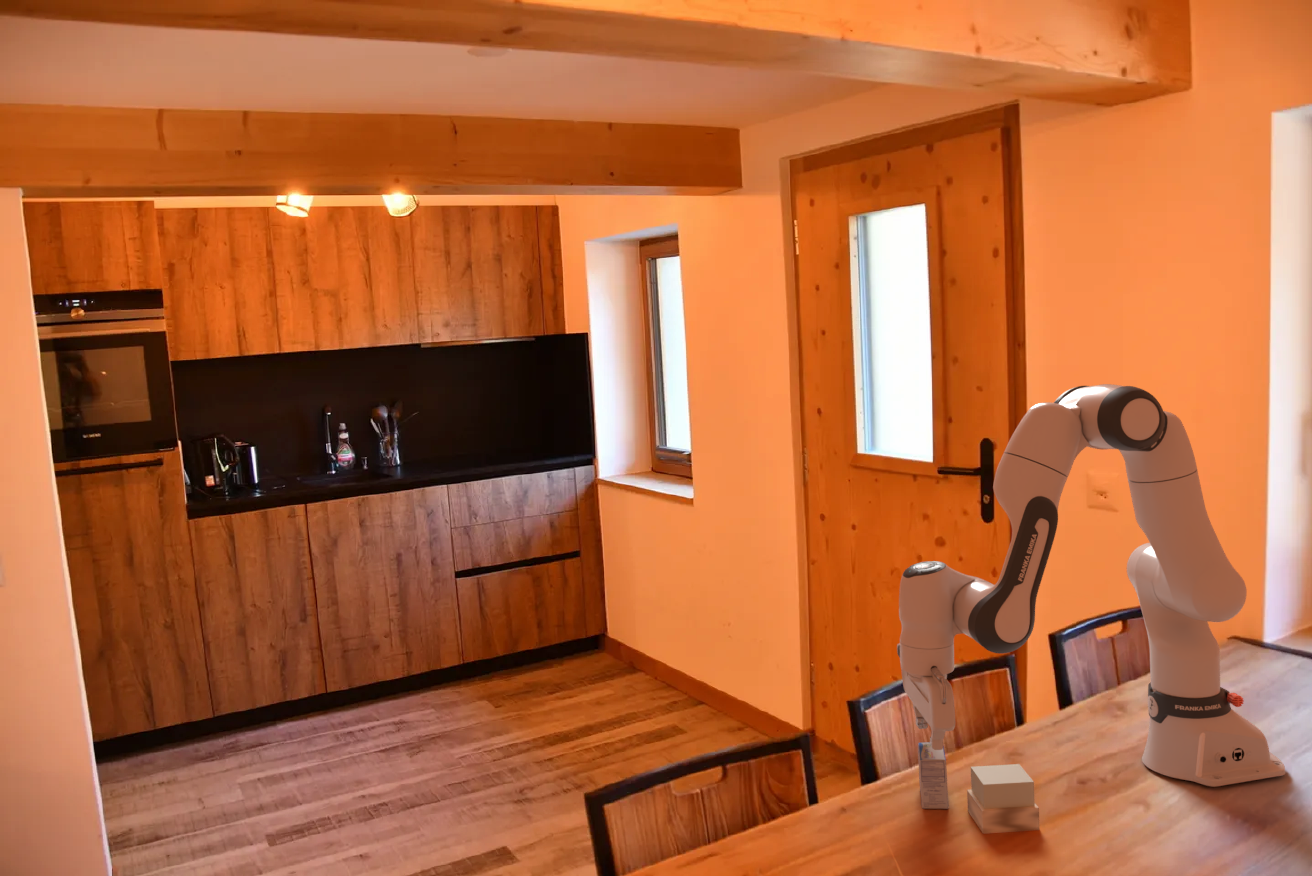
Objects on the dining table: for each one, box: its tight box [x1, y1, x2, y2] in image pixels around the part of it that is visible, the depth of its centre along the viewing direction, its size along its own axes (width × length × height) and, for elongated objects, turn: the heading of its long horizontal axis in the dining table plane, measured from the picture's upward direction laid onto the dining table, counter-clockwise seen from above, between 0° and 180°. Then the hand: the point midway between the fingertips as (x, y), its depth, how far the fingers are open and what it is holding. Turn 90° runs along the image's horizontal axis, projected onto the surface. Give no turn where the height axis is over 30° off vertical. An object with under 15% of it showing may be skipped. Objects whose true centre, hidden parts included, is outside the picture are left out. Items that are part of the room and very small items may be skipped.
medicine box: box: [917, 741, 950, 810], centre depth 179 cm, size 8×4×9 cm, turn 168°
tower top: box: [970, 763, 1036, 809], centre depth 170 cm, size 8×7×4 cm
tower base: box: [966, 789, 1040, 835], centre depth 171 cm, size 9×8×4 cm
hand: (929, 737), depth 179 cm, fingers open, 8 cm apart
